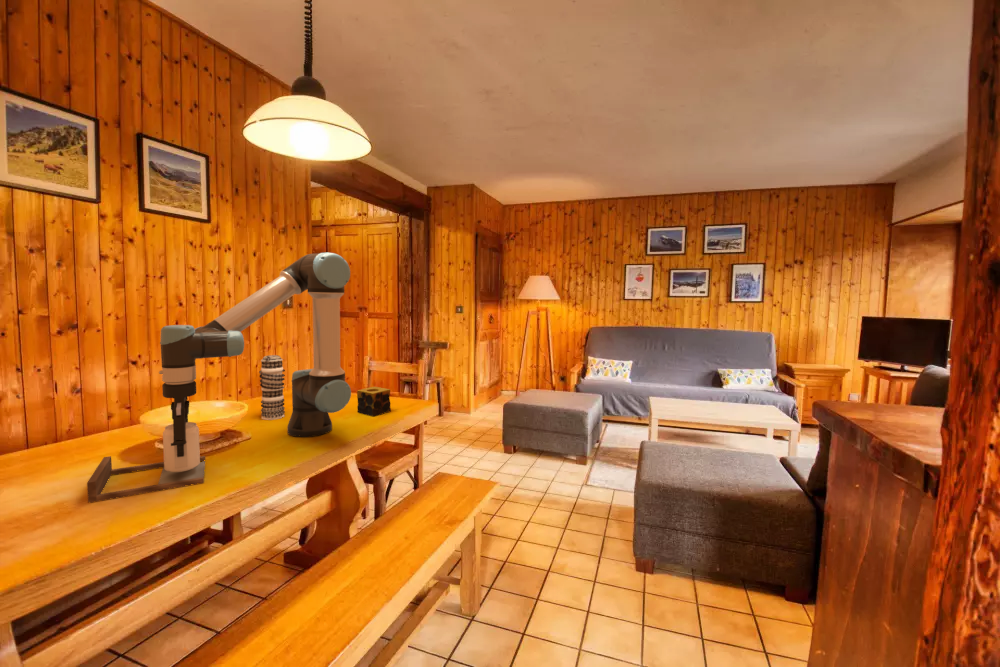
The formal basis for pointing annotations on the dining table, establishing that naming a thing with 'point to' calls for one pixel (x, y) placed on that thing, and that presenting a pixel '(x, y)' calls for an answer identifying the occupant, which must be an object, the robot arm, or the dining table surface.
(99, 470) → the dark frame
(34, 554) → the dining table surface
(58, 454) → the dining table surface
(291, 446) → the dining table surface
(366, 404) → the dark patterned box
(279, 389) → the decorative candle
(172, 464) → the beverage can
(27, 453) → the dining table surface
